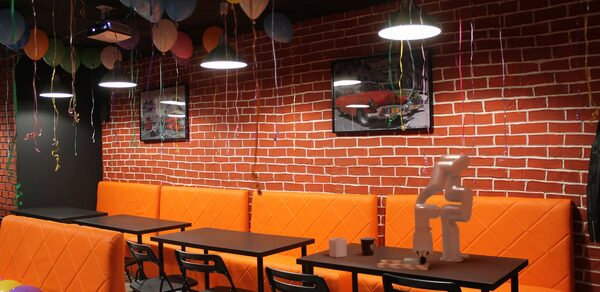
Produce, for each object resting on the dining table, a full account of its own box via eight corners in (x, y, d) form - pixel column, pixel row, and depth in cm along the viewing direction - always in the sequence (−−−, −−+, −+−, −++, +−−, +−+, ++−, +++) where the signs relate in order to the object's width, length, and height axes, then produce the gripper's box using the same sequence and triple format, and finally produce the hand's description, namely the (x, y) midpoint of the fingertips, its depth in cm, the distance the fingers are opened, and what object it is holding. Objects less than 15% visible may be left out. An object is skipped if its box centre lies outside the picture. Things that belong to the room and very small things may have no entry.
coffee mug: (364, 256, 316) (363, 240, 316) (358, 254, 324) (358, 237, 324) (382, 255, 319) (381, 238, 319) (376, 252, 327) (375, 236, 327)
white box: (341, 253, 329) (341, 237, 329) (351, 256, 318) (350, 239, 318) (326, 255, 324) (325, 238, 324) (335, 258, 313) (335, 241, 314)
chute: (429, 267, 283) (429, 262, 283) (427, 271, 274) (426, 266, 274) (381, 264, 292) (381, 259, 292) (377, 269, 283) (377, 263, 283)
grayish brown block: (420, 266, 283) (420, 258, 283) (418, 268, 277) (418, 261, 277) (405, 265, 286) (404, 258, 286) (403, 268, 280) (403, 260, 280)
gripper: (437, 228, 281) (438, 263, 280) (408, 228, 286) (409, 262, 285) (436, 230, 274) (437, 266, 273) (407, 230, 278) (407, 265, 278)
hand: (423, 264), depth 279 cm, fingers closed
